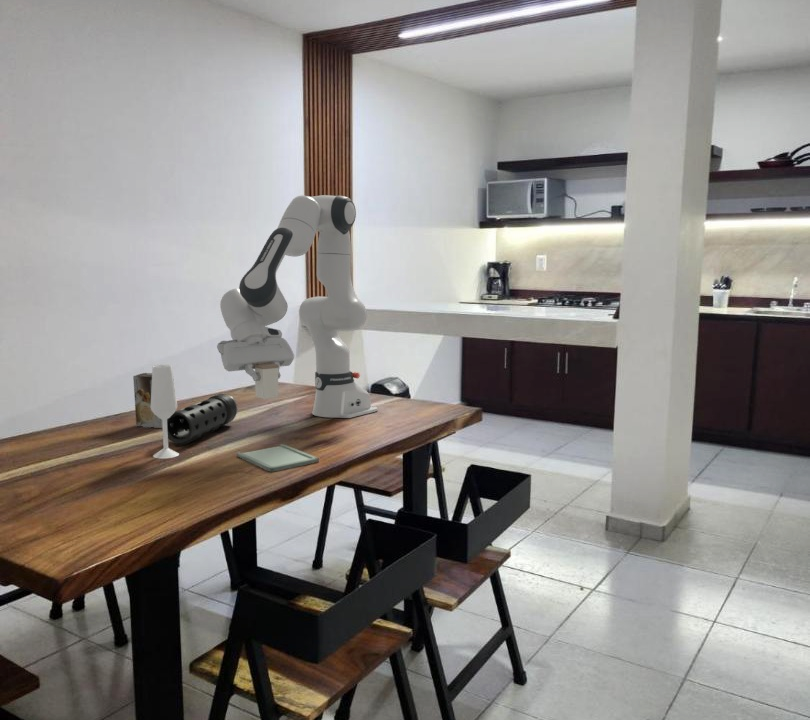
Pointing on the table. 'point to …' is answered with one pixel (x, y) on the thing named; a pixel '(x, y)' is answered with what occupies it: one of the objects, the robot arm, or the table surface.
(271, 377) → the canister
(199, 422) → the muzzle brake
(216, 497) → the table surface
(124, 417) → the table surface
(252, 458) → the tray
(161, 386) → the champagne flute
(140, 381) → the coffee box
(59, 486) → the table surface
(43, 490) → the table surface
